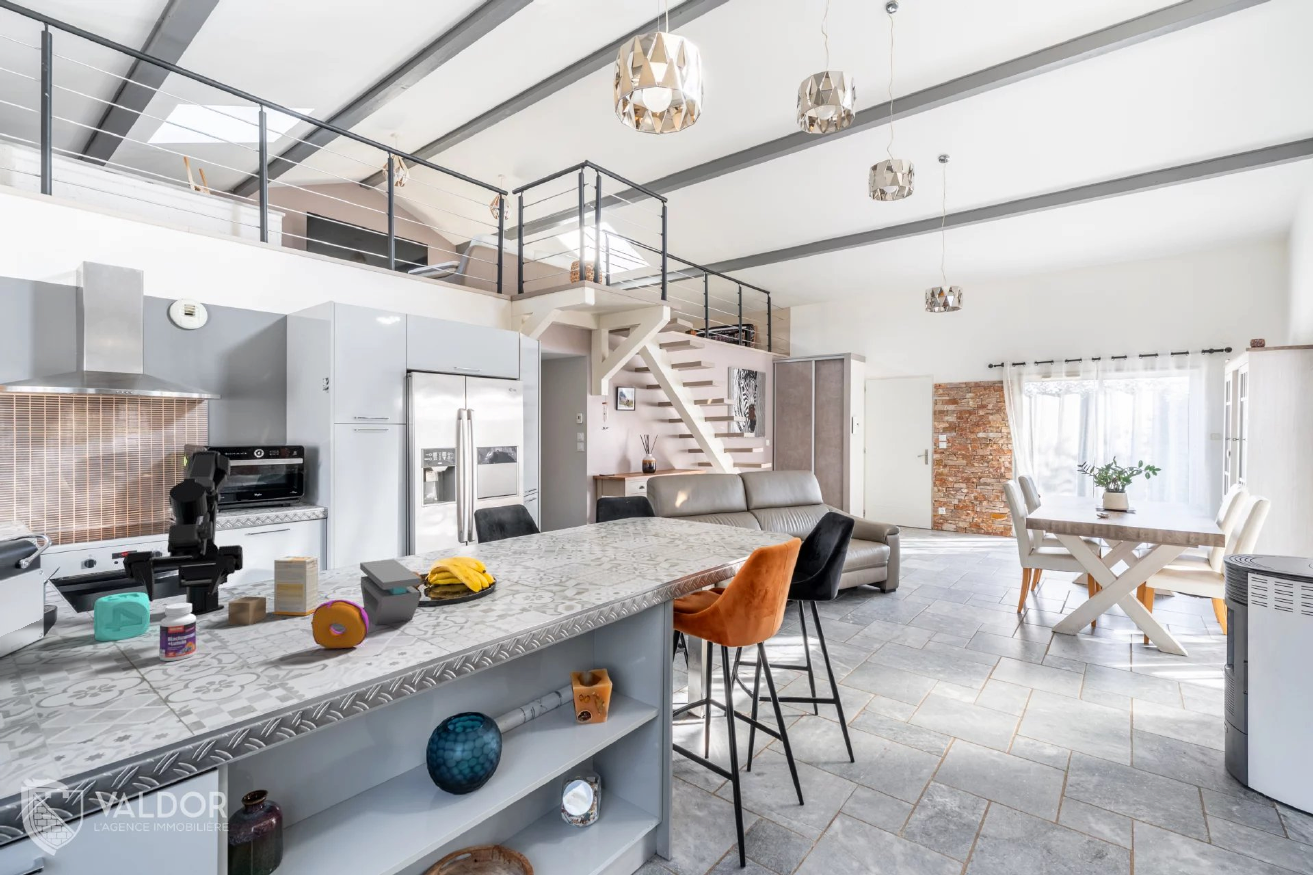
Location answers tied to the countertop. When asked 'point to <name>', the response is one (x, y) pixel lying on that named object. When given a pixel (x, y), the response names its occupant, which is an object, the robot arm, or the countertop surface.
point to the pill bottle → (177, 633)
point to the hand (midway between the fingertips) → (181, 597)
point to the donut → (341, 614)
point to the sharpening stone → (389, 591)
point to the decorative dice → (121, 616)
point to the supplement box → (295, 585)
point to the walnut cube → (246, 610)
